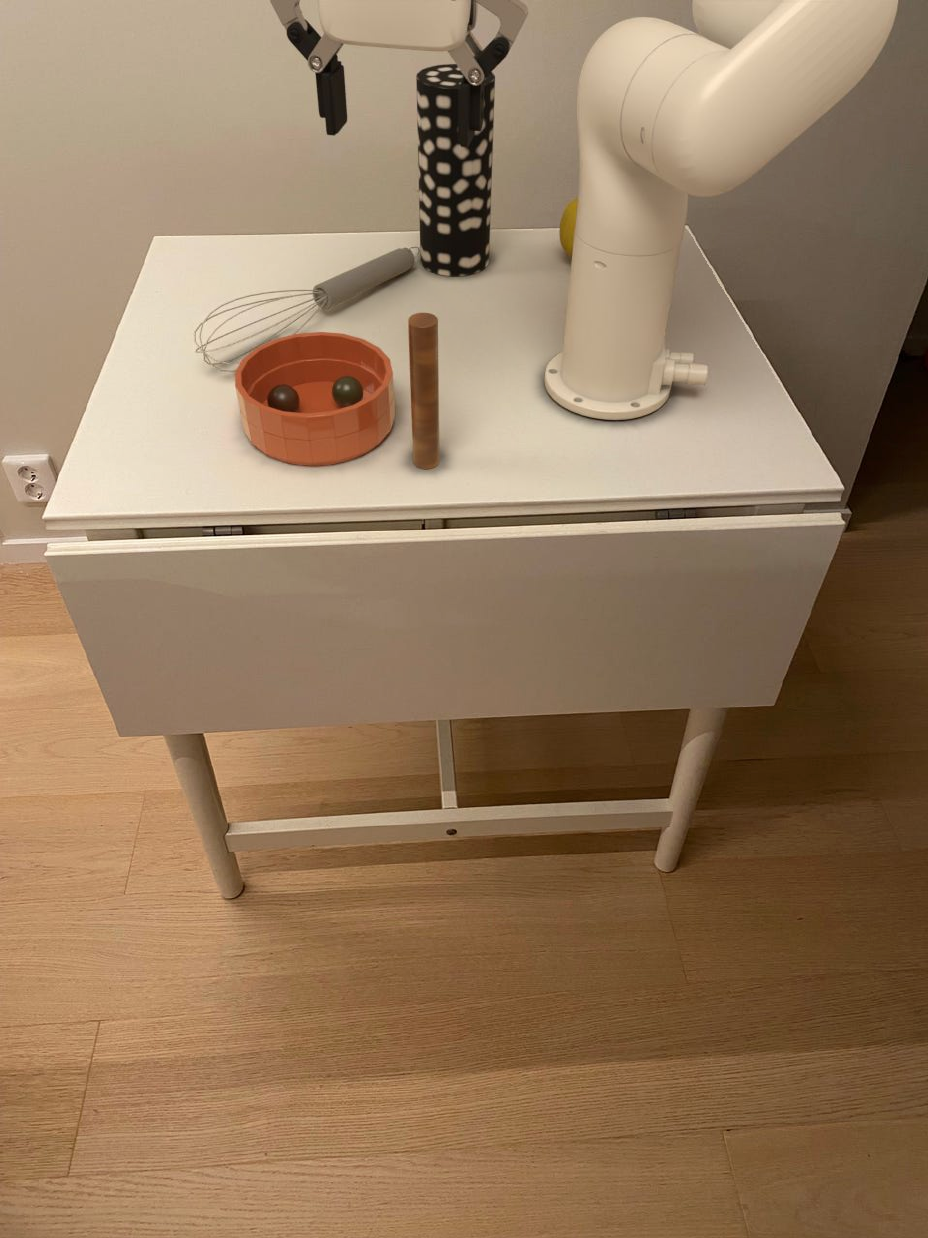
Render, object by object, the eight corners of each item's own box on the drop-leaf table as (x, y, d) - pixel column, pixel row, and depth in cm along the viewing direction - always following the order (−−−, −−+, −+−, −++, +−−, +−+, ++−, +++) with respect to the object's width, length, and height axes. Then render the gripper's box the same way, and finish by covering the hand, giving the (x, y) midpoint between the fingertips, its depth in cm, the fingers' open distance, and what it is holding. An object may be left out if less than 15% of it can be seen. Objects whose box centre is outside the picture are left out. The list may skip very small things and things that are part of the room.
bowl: (406, 388, 92) (404, 338, 88) (378, 474, 82) (374, 423, 78) (268, 376, 93) (260, 326, 89) (224, 460, 84) (213, 408, 80)
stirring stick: (441, 454, 85) (440, 313, 74) (437, 470, 83) (435, 328, 73) (415, 452, 85) (410, 310, 75) (410, 468, 83) (405, 325, 73)
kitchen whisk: (438, 268, 110) (438, 215, 105) (229, 394, 91) (217, 337, 87) (399, 254, 112) (396, 201, 108) (187, 374, 94) (174, 317, 89)
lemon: (550, 253, 113) (556, 186, 107) (593, 249, 114) (601, 182, 108) (564, 274, 109) (571, 206, 103) (608, 269, 110) (617, 202, 104)
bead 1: (304, 406, 89) (301, 379, 86) (296, 424, 87) (292, 397, 84) (274, 404, 89) (270, 376, 87) (265, 421, 87) (261, 394, 85)
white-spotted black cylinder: (497, 250, 113) (504, 68, 99) (477, 280, 108) (481, 92, 93) (433, 240, 115) (431, 60, 100) (410, 270, 110) (404, 83, 95)
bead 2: (367, 398, 90) (365, 371, 88) (360, 415, 88) (358, 388, 85) (337, 395, 90) (334, 368, 88) (330, 413, 88) (327, 385, 86)
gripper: (545, -177, 56) (526, 126, 68) (272, -190, 58) (302, 107, 70) (528, -161, 51) (511, 164, 63) (229, -175, 53) (270, 142, 65)
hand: (401, 134), depth 67 cm, fingers open, 9 cm apart
